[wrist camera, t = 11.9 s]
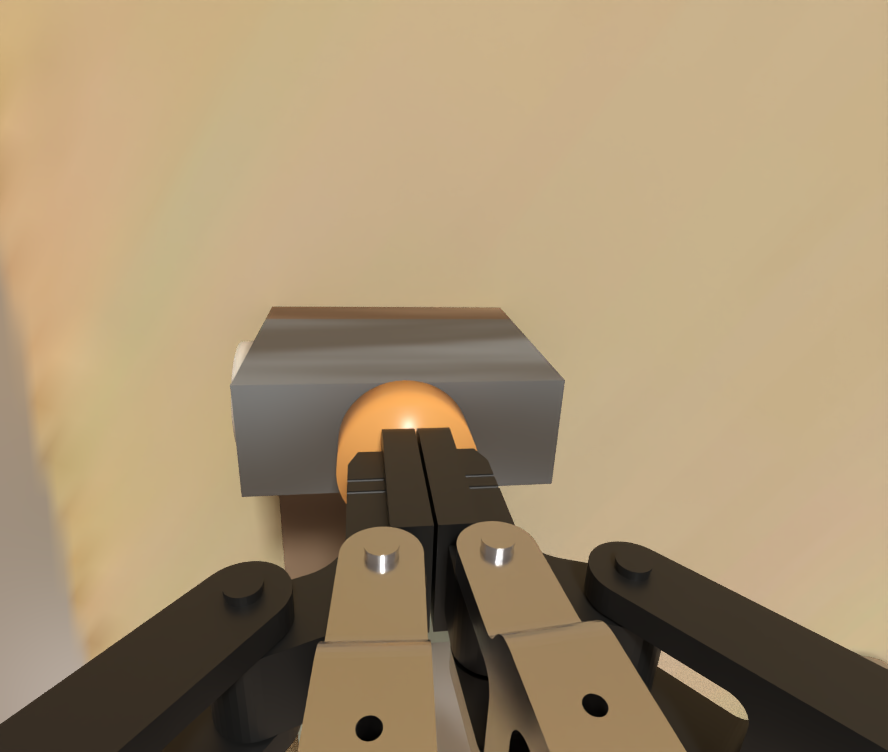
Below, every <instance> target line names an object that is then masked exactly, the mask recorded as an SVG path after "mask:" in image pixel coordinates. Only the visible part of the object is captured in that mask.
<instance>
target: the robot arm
mask: <svg viewBox="0 0 888 752" xmlns="http://www.w3.org/2000/svg"><path fill="white" fill-rule="evenodd" d="M430 614H431V621H432V627H433V632H440V631H448V634H449V639H450V658H449V670H450V675H451V679H452V682H453V686H454V690H455V694H456V698H457V701H458V705H459V709H460V713H461V717H462V720H463V724H464V728H465V732H466V736H467V739H468V743H469V747H470V751H471V752H888V664H887V663H885V662H884V661H882V660H879V659H875V658H872V657H863V656H860V655H858V654H856V653H854V652H852V651H850V650H848V649H846V648H845V647H843V646H841V645H839V644H837V643H835V642H833V641H831V640H829V639H827V638H825V637H823V636H821V635H819V634H817V633H815V632H813V631H811V630H809V629H807V628H805V627H803V626H801V625H799V624H797V623H795V622H793V621H791V620H789V619H787V618H785V617H783V616H781V615H779V614H777V613H775V612H773V611H771V610H769V609H767V608H765V607H763V606H761V605H759V604H757V603H755V602H753V601H751V600H749V599H747V598H746V597H744V596H742V595H740V594H738V593H736V592H734V591H732V590H730V589H728V588H726V587H724V586H722V585H720V584H718V583H716V582H714V581H712V580H710V579H708V578H706V577H704V576H702V575H700V574H698V573H696V572H694V571H692V570H690V569H688V568H686V567H684V566H682V565H680V564H678V563H676V562H674V561H672V560H670V559H668V558H666V557H664V556H662V555H660V554H658V553H656V552H654V551H652V550H650V549H648V548H646V547H643V546H640V545H637V544H633V543H628V542H608V543H604V544H601V545H599V546H597V547H596V548H594V549H593V551H592V552H591V553H590V556H589V560H588V563H584V562H578V561H572V560H567V559H561V558H556V557H553V556H550V555H546V554H544V553H542V552H541V550H540V548H539V546H538V545H537V543H536V541H535V540H534V538H533V537H532V536H531V535H530V534H529V533H527V532H526V531H525V530H523V529H521V528H519V527H517V526H515V525H514V522H513V520H512V517H511V515H510V513H509V510H508V508H507V505H506V503H505V500H504V498H503V496H502V493H501V491H500V488H498V483H497V481H496V479H495V476H494V475H493V471H492V469H491V466H490V464H489V462H488V460H487V459H486V458H485V457H484V456H482V455H481V454H480V453H479V452H478V451H476V450H475V449H474V448H468V449H457V448H456V445H455V442H454V439H453V436H452V433H451V430H450V428H449V427H444V428H417V430H416V433H415V429H414V428H409V429H382V432H381V451H376V452H358V453H357V454H356V455H355V456H354V458H353V459H352V460H351V461H350V463H349V464H348V473H347V503H346V533H345V542H344V543H343V544H342V546H341V548H340V551H339V556H338V557H337V558H336V559H335V560H334V561H333V562H332V563H330V564H329V565H327V566H326V567H324V568H322V569H320V570H318V571H316V572H314V573H311V574H308V575H305V576H301V577H298V578H295V579H291V577H290V576H289V574H288V573H287V572H286V571H285V570H284V569H283V568H281V567H279V566H277V565H275V564H272V563H268V562H261V561H250V562H243V563H238V564H234V565H231V566H229V567H226V568H224V569H222V570H220V571H218V572H216V573H215V574H213V575H211V576H210V577H209V578H207V579H206V580H204V581H203V582H202V583H200V584H199V585H197V586H196V587H194V588H193V589H192V590H190V591H189V592H187V593H186V594H185V595H183V596H182V597H180V598H179V599H177V600H176V601H175V602H173V603H172V604H170V605H169V606H167V607H166V608H165V609H163V610H162V611H160V612H159V613H158V614H156V615H155V616H153V617H152V618H150V619H149V620H148V621H146V622H145V623H143V624H142V625H140V626H139V627H138V628H136V629H135V630H133V631H132V632H131V633H129V634H128V635H126V636H125V637H123V638H122V639H121V640H119V641H118V642H116V643H115V644H113V645H112V646H111V647H109V648H108V649H106V650H105V651H104V652H102V653H101V654H99V655H98V656H96V657H95V658H94V659H92V660H91V661H89V662H88V663H87V664H85V665H84V666H82V667H81V668H79V669H78V670H77V671H75V672H74V673H72V674H71V675H69V676H68V677H67V678H65V679H64V680H62V681H61V682H60V683H58V684H57V685H55V686H54V687H53V688H51V689H50V690H48V691H47V692H45V693H44V694H42V695H41V696H40V697H38V698H37V699H35V700H34V701H33V702H31V703H30V704H28V705H27V706H25V707H24V708H23V709H21V710H20V711H18V712H17V713H16V714H14V715H13V716H11V717H10V718H8V719H7V720H6V721H4V722H3V723H1V724H0V752H285V751H286V750H287V749H288V748H289V747H290V745H291V744H292V743H293V741H294V740H295V738H296V736H297V735H298V733H299V730H300V727H301V725H302V730H301V735H300V741H299V747H298V752H437V737H436V719H435V701H434V682H433V664H432V648H431V640H430V639H428V633H429V629H430ZM661 650H662V651H663V652H665V653H667V654H668V655H670V656H672V657H673V658H675V659H676V660H678V661H680V662H681V663H683V664H685V665H686V666H688V667H689V668H691V669H693V670H694V671H696V672H698V673H699V674H701V675H702V676H704V677H706V678H707V679H709V680H711V681H712V682H714V683H715V684H717V685H719V686H720V687H722V688H724V689H725V690H727V691H728V692H730V693H731V694H732V695H733V696H735V697H736V698H737V699H738V700H739V701H740V703H741V704H742V705H743V707H744V709H745V710H746V712H747V715H748V719H749V720H744V719H741V718H738V717H736V716H734V715H733V714H731V713H729V712H728V711H726V710H725V709H723V708H722V707H720V706H718V705H717V704H715V703H714V702H712V701H711V700H709V699H707V698H706V697H704V696H703V695H701V694H700V693H698V692H696V691H695V690H693V689H692V688H690V687H689V686H687V685H685V684H684V683H682V682H681V681H679V680H678V679H676V678H674V677H673V676H671V675H670V674H668V673H667V672H665V671H663V670H662V669H660V668H659V667H657V665H658V661H659V657H660V653H661Z"/></svg>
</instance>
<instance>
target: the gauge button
mask: <svg viewBox="0 0 888 752" xmlns="http://www.w3.org/2000/svg"><path fill="white" fill-rule="evenodd" d="M444 427H449V428H450V430H451V433H452V436H453V439H454V442H455V445H456V448H457V449H468V448H474V449H475V450H476V451H477V449H476V445H475V443H474V440H473V438H472V435H471V433H470V430H469V428H468V425H467V423H466V420H465V418H464V415H463V413H462V411H461V409H460V408H459V406H458V405H457V403H456V402H455V401H454V400H453V399H452V398H451V397H450V396H449V395H448V394H446V393H445V392H444V391H442V390H440V389H439V388H437V387H435V386H432V385H430V384H427V383H423V382H418V381H409V380H402V381H393V382H388V383H385V384H382V385H379V386H377V387H375V388H373V389H371V390H369V391H367V392H366V393H364V394H363V395H362V396H360V397H359V398H358V399H357V400H356V401H355V402H354V403H353V404H352V405H351V407H350V408H349V409H348V411H347V412H346V414H345V416H344V418H343V420H342V423H341V426H340V430H339V437H338V452H337V467H336V478H337V484H338V488H339V491H340V494H341V496H342V498H343V500H344V501H345V503H347V473H348V464H349V463H350V461H351V460H352V459H353V458H354V456H355V455H356V454H357V453H358V452H376V451H381V432H382V429H409V428H414V429H415V433H416V430H417V428H444Z"/></svg>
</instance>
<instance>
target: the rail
mask: <svg viewBox="0 0 888 752" xmlns="http://www.w3.org/2000/svg"><path fill="white" fill-rule="evenodd" d="M402 380H409V381H418V382H423V383H427V384H430V385H432V386H435V387H437V388H439V389H440V390H442V391H444V392H445V393H446V394H448V395H449V396H450V397H451V398H452V399H453V400H454V401H455V402H456V403H457V405H458V406H459V408H460V409H461V411H462V413H463V415H464V418H465V420H466V423H467V425H468V428H469V430H470V433H471V435H472V438H473V440H474V443H475V445H476V449H477V451H478V452H479V453H480V454H481V455H482V456H484V457H485V458H486V459H487V460H488V462H489V464H490V466H491V469H492V471H493V475H494V476H495V479H496V481H497V483H498V486H507V485H531V484H551V483H552V476H553V468H554V460H555V452H556V445H557V437H558V429H559V421H560V414H561V406H562V398H563V390H564V383H565V380H564V379H563V378H562V377H561V376H560V374H559V373H558V372H557V371H556V370H555V369H554V368H553V367H552V365H551V364H550V363H549V362H548V361H547V360H546V359H545V358H544V356H543V355H542V354H541V353H540V352H539V351H538V350H537V349H536V347H535V346H534V345H533V344H532V343H531V342H530V341H529V340H528V339H527V337H526V336H525V335H524V334H523V333H522V332H521V331H520V330H519V328H518V327H517V326H516V325H515V324H514V323H513V322H512V321H511V319H510V318H509V317H508V316H507V315H506V314H505V313H504V312H503V310H502V309H501V308H441V307H272V308H271V310H270V312H269V314H268V316H267V318H266V320H265V322H264V323H263V325H262V327H261V329H260V331H259V333H258V335H257V336H256V338H255V340H254V341H241V342H240V343H239V345H238V347H237V349H236V353H235V357H234V363H233V370H232V383H231V385H230V389H231V410H232V423H233V431H234V437H235V441H236V445H237V455H238V464H239V474H240V483H241V493H242V497H250V496H273V495H279V496H280V509H281V522H282V535H283V548H284V561H285V571H286V572H287V573H288V574H289V576H290V577H291V579H295V578H298V577H301V576H305V575H308V574H311V573H314V572H316V571H318V570H320V569H322V568H324V567H326V566H327V565H329V564H330V563H332V562H333V561H334V560H335V559H336V558H337V557H338V556H339V551H340V548H341V546H342V544H343V543H344V542H345V533H346V503H345V501H344V500H343V498H342V496H341V494H340V491H339V488H338V484H337V478H336V467H337V452H338V437H339V430H340V426H341V423H342V420H343V418H344V416H345V414H346V412H347V411H348V409H349V408H350V407H351V405H352V404H353V403H354V402H355V401H356V400H357V399H358V398H359V397H360V396H362V395H363V394H364V393H366V392H367V391H369V390H371V389H373V388H375V387H377V386H379V385H382V384H385V383H388V382H393V381H402ZM298 744H299V741H298Z"/></svg>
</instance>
